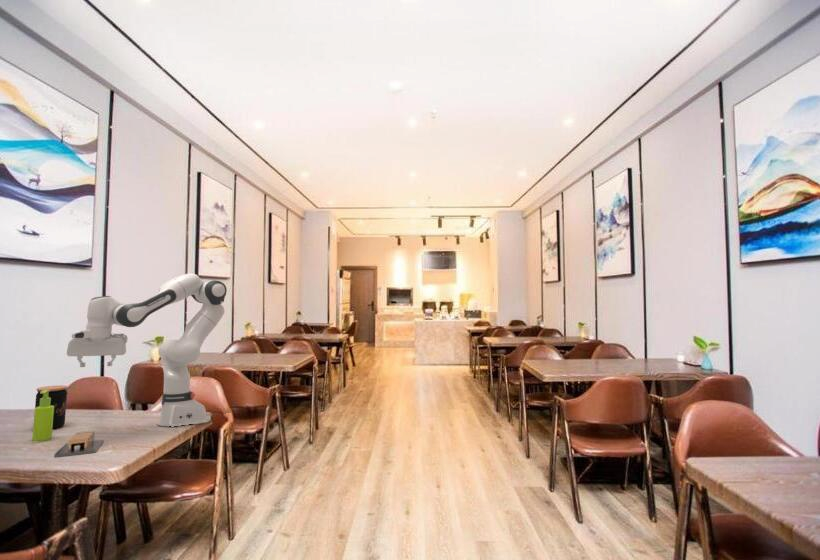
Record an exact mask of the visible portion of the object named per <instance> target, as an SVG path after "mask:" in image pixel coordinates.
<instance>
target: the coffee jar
mask: <svg viewBox="0 0 820 560" xmlns="http://www.w3.org/2000/svg"><path fill="white" fill-rule="evenodd" d="M67 389H68V386H67V385H59V384H58V385H47V386H41V387H37V388H36V391H37V393H36V394H35V401H34V402H35V406H34V409H35V408H36V407H39V405H40V399H41V398H43V394H40V392H41V391H42V390H50V391H49V394H48V397H50V398H51V402H50V405H52V406H54V414H53V426H52V429H54V430H57V428H58V429H61V428H63V427H62V426H65V423H66V412H67V398H68V391H67ZM34 416H35V414H34ZM60 427H61V428H60Z"/></svg>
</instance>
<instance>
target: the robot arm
mask: <svg viewBox="0 0 820 560" xmlns="http://www.w3.org/2000/svg"><path fill="white" fill-rule="evenodd" d="M227 292H228V290H227V286H226V284H225V283H224V282H222V281H220V280H214V279H213V280H209V281H202V280H201V278H200V277H199V275H198V274H196V273H194V272H189V273H184V274H182V275H179V276H176V277H174V278H171V279H169V280H168V281H165V282H164V283H163V284H161V285H160V286H159V288H158V292H157V294H155V295H153V296H152V297H150V298H147V299H145V300H143V301H141V302H138V303H125V302H121V301H120V300H119V301H118V300H117V299H115V298H114V297H112V296H111V295H104V296H96V297H93V298H91V299H90V301H89V302H88V306H87V313H86V314H87V315H86V317H87V323H86V325H85V326H86V327H85V330H80V331H77V332H74V333H72V334H71V338H72V339H71V340H69V342H68V344H67V349H66V355H67V357H76V358H77V361H78V362H79V368H85V367H86V362H84V361H83V357H98V356H99V357H100V356H101V357H102V356H110V357H111V360H110V361H107V367H112V366H113V363H114V361H115V359H116V358H117V356H123V355H125V354H126V353H127V343H128V336H127V335H126V334H124V333H112V330H113V329H112V327H113V325H116V326H121V327H125V328H135V327H137V326H140V325H141V324H142V323H143V322H144V321H145V320H146V319H147V317H149V316H150V315H151V314H153V313H155V312H157V311H158V310H161V309H162V308H165V307H166V306H169V305H172V304H175V303H178V302H180V301H183V300H184V299H187V298H189V297H192V298H193V300H194V301H196V302H197V303H199V304H202V305H201V308H200V310H198V311H197V313H196V314H195V315H194V316H193V317H192V318H191V319H190V320H189V322H188V323H186V325H185V329H184V332H183V333H182V335H181V337H180V338H179V339H169V340H166V341H163V343H161V344H160V346H159V347H158V356H159V358H160V359H161V364H162V372H163V393H162V394H161V403H160V404H161V411H160V415H159V418H158V421H157V425H158V426H161V427H169V426H171V427H170V428H175V427H174V426H178V427H182V426H181V425H185V426H190V425H189V424H193V425H198V424H205V423H209V422H210V421H212V418H211V415H209V414H207V409H206V407H205V406H204V404H203V403H201V402H199V401H198V400H196V399H195V396H196V394H195V392H193V391H190V390H191V389H190V387H191V374H190V371H189V370H188V366H187V365H188V364H190V363H191V364H192V363H194V362H195V361H197V360H198V359H199V357H200V354H201V348H202V346H203V344H204V343H205V340H206V339H207V338H208V336H209V335H210V333H211V332H212V331H213V330H214V329H215V327H217V325H218V324H219V322H220V321H221V320H222V318H223V316H224V314H225V308H224V306H223V305H222V304H223V303H224V302H225V299H226V296H227Z"/></svg>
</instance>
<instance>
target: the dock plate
mask: <svg viewBox="0 0 820 560" xmlns="http://www.w3.org/2000/svg"><path fill="white" fill-rule="evenodd" d="M88 432H93V442H92V444H91V445H90V446H89V447H88V448H87V449H84V445H85V443H77V444H76V445H75V446H74V448H73V449H72V450H71V451H68V445H69V442H68V443H65V444H64V445H63V446H61V448H59V450H57V452H56V453H54V456H53V457H54V458H62V457H69V456H70V457H71V456H78V455H79V456H80V455H87V454H96V452H98V450H99V449H100V448H101V446H102V444H104V439H99V440H98V439H97V440H95V439H96V438H95V437H96V435H95V434H96V430H87V431H86V430H84V431H76V432H75V433H74V435H75V434H78V433H88Z"/></svg>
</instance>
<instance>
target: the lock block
mask: <svg viewBox="0 0 820 560" xmlns="http://www.w3.org/2000/svg"><path fill="white" fill-rule="evenodd" d="M92 442H93V432H88V433H78V434H75V433H74V434H73V435H72V436H71V437H70V438H69V440H68V443H69V445H68V451H71V450H72V449H73V448H74V446H75V445H76V444H77V443H85V445H84V449H87V448H88V447H89V446H90V445H91V444H92Z"/></svg>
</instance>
